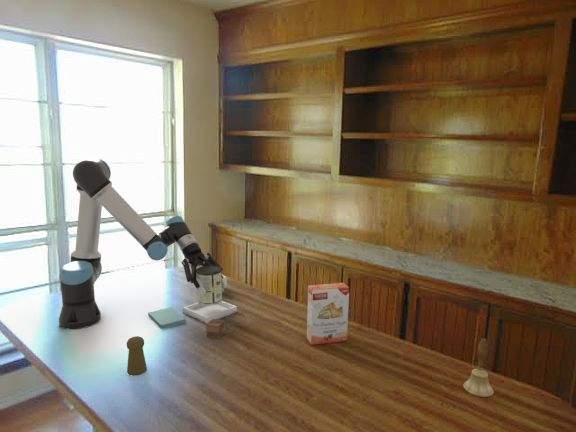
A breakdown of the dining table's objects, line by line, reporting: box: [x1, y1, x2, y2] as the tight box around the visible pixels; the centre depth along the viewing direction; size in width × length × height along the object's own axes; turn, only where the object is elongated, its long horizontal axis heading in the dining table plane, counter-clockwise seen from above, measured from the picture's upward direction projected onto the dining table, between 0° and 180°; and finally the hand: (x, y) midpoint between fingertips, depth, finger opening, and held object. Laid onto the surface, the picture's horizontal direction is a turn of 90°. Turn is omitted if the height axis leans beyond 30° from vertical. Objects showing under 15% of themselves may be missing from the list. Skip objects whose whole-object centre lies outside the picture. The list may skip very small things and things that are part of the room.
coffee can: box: [196, 265, 223, 306], centre depth 180 cm, size 10×10×14 cm
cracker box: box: [306, 282, 350, 346], centre depth 156 cm, size 14×6×21 cm, turn 105°
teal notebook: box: [147, 307, 187, 330], centre depth 175 cm, size 10×15×2 cm, turn 36°
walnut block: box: [205, 319, 226, 339], centre depth 161 cm, size 5×5×5 cm
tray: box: [182, 300, 238, 324], centre depth 182 cm, size 16×16×2 cm
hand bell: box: [462, 337, 494, 398], centre depth 126 cm, size 8×8×16 cm
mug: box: [221, 273, 228, 294], centre depth 207 cm, size 10×8×8 cm
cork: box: [126, 335, 148, 377], centre depth 135 cm, size 6×6×11 cm
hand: (214, 290), depth 178 cm, fingers closed on coffee can, 10 cm apart
